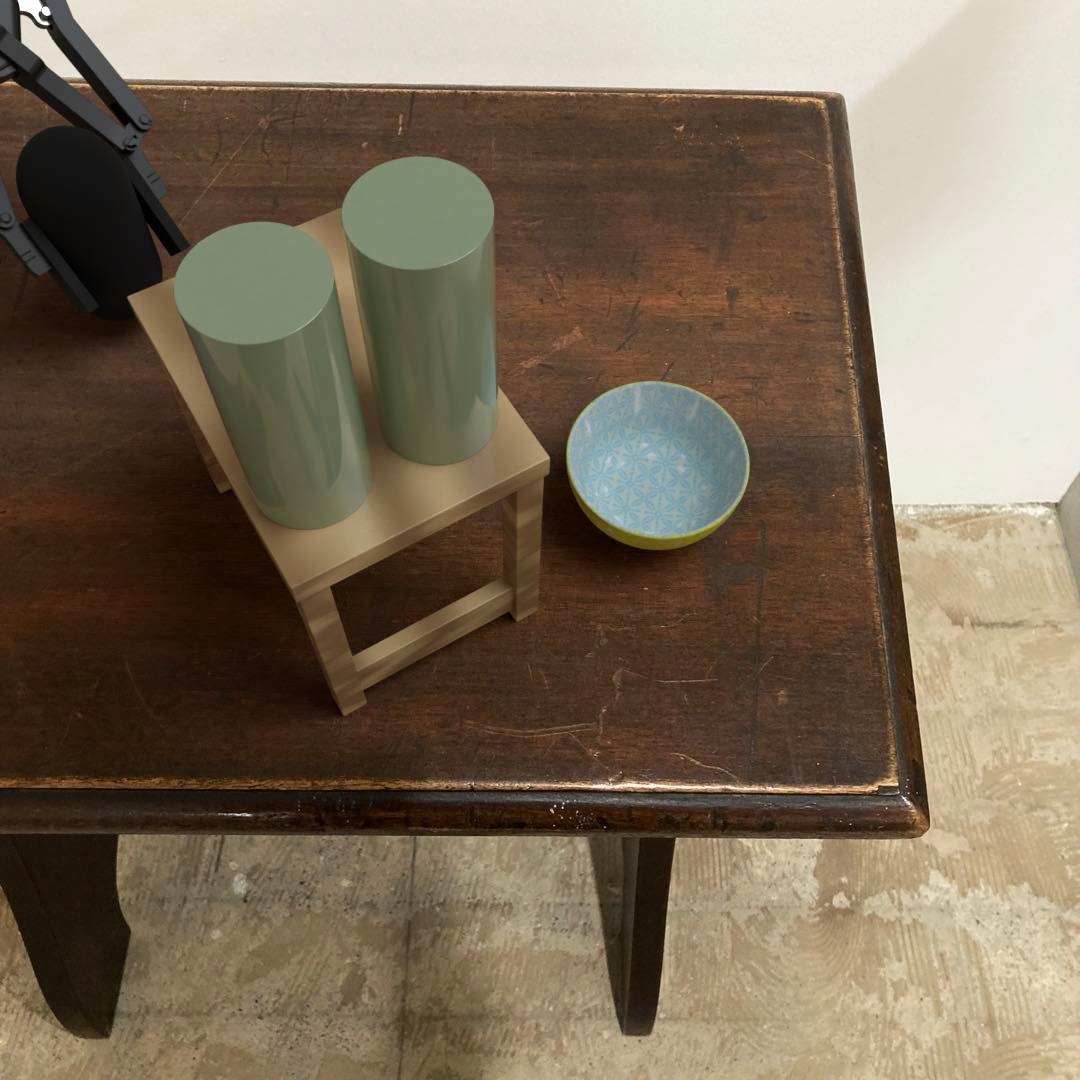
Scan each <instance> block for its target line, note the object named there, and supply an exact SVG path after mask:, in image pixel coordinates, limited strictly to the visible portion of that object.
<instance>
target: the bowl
mask: <svg viewBox="0 0 1080 1080" xmlns="http://www.w3.org/2000/svg"><path fill="white" fill-rule="evenodd" d="M567 437H568V438H567V442H566V449H565V461H566V462H565V464H566V473H567V476H568V477H567V478H568V481H569V485H570V489H571V491H572V493H573V495H574V498H575V500H576V502H577V503H578V506H579V508H580V509H581V510H582V512H583V513H584V514H585V515H586V517H587V518H588V519H589V520H590V522H591V523H592V524H593V525H594V526H596V527H597V529H599V530H600V531H601V532H603V533H604V534H605V535H606V536H608V537H610V538H611V539H613V540H615V541H617V542H620V543H622V544H624V545H627V546H630V547H632V548H637V549H642V550H648V551H649V550H650V551H666V550H667V551H668V550H675V549H680V548H683V547H687V546H689V545H692V544H694V543H696V542H699V541H701V540H703V539H705V538H706V537H708V536H709V535H711V534H713V533H714V532H715V531H716V530H717V529H718V528H720V527H721V526H722V525H723V524H725V522H726V521H727V520H729V518H730V516H731V515H732V514H733V513H734V511H735V510H736V508H737V507H738V505H739V504H740V502H741V500H742V499H743V496H744V494H745V492H746V489H747V486H748V482H749V478H750V466H751V462H750V454H749V448H748V445H747V442H746V439H745V436H744V435H743V433H742V430H741V429H740V427H739V426H738V424H737V422H736V421H735V419H733V417H732V416H731V415H730V413H728V412H727V411H726V409H725V408H723V407H722V406H721V405H720V404H719V403H717V401H715V400H714V399H712V398H711V397H709V396H707V395H705V394H704V393H702V392H701V391H698V390H696V389H694V388H692V387H689V386H686V385H682V384H679V383H672V382H667V381H658V380H656V381H655V380H647V381H637V382H632V383H626V384H623V385H620V386H618V387H615V388H612V389H610V390H608V391H605V392H603V393H602V394H600V395H599V396H597V397H596V398H594V400H592V401H591V402H590V403H588V405H586V407H584V409H583V410H582V411H581V412H580V413H579V415H578V416H577V418H576V419H575V422H574V423H573V424H572V426H571V429H570V431H569V433H568V436H567Z"/></svg>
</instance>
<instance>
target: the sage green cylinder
mask: <svg viewBox="0 0 1080 1080" xmlns="http://www.w3.org/2000/svg"><path fill="white" fill-rule="evenodd" d="M295 227H296V226H292V225H289V224H284V223H280V222H275V221H274V222H273V221H248V222H243V223H238V224H233V225H230V226H227V227H225V228H222V229H220V230H216V231H215V232H213V233H211V234H210V235H208V236H206V237H205V238H203V239H201V240H200V241H199V242H198V243H196V244H195V245H194V246H193V247H192V248H191V249H190V250H189V251H188V252H187V253H186V255H185V256H184V257H183V258H182V260H181V262H180V264H179V265H178V268H177V270H176V273H175V275H174V277H175V280H174V287H173V293H174V300H175V304H176V307H177V309H178V312H179V314H180V317H181V319H182V322H183V324H184V327H185V329H186V332H187V335H188V337H189V340H190V342H191V345H192V347H193V350H194V352H195V355H196V357H197V360H198V362H199V365H200V367H201V370H202V372H203V375H204V378H205V380H206V383H207V385H208V388H209V390H210V393H211V395H212V398H213V400H214V403H215V405H216V408H217V410H218V413H219V415H220V418H221V420H222V423H223V426H224V428H225V431H226V433H227V436H228V438H229V441H230V443H231V446H232V448H233V451H234V453H235V456H236V458H237V461H238V463H239V466H240V468H241V471H242V474H243V476H244V479H245V481H246V484H247V486H248V489H249V491H250V494H251V496H252V498H253V501H254V503H255V504H256V506H257V507H258V509H259V510H260V511H261V512H262V513H263V514H264V515H265V516H267V517H268V518H269V519H271V520H272V521H274V522H276V523H278V524H280V525H283V526H286V527H289V528H294V529H303V530H310V529H319V528H324V527H327V526H331V525H333V524H336V523H338V522H340V521H342V520H344V519H345V518H347V517H348V516H350V515H351V514H353V513H354V512H355V511H356V510H357V509H358V508H359V507H360V506H361V505H362V503H363V502H364V501H365V499H366V497H367V496H368V494H369V492H370V489H371V487H372V483H373V477H374V467H373V461H372V456H371V452H370V447H369V442H368V437H367V432H366V427H365V422H364V417H363V412H362V407H361V402H360V397H359V392H358V387H357V383H356V378H355V373H354V368H353V363H352V358H351V353H350V348H349V343H348V338H347V333H346V328H345V323H344V318H343V314H342V309H341V304H340V299H339V294H338V289H337V284H336V279H335V274H334V269H333V265H332V262H331V259H330V257H329V255H328V254H327V252H326V250H325V249H324V248H323V247H322V245H321V244H320V243H319V242H318V241H317V240H315V239H314V238H313V237H312V236H310V235H309V234H307V233H305V232H303V231H302V230H300V229H297V228H295Z"/></svg>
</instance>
